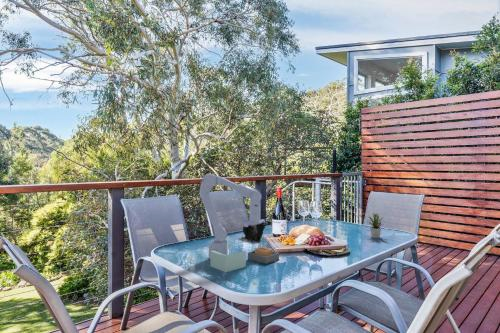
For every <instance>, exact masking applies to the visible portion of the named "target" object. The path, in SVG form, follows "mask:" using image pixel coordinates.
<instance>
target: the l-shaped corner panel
mask: <svg viewBox="0 0 500 333" xmlns="http://www.w3.org/2000/svg"><path fill="white" fill-rule="evenodd" d="M246 253H247V252H246V250H243V251H239V252H238V251H237V252H235V253H231V254H227V255H224V254H221V253H218V252H215V251H210V259H209V260H210V262H209V263H210V266H209V267H212V268H214V269H216V270H219V271H221V272H225V273H228V272H232V271H235V270H239V269H243V268H246V265H247V263H246V259H247V258H246V257H247V256H246V255H247V254H246Z"/></svg>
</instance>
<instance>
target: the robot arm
mask: <svg viewBox="0 0 500 333" xmlns="http://www.w3.org/2000/svg"><path fill="white" fill-rule="evenodd" d="M200 183H201V184H200V187H199V197H200V199H201V201H202V203H203V206H204V208H205V211H206V214H207V216H208V218H209V221H210V223H211V225H212V228H213V235H214V239H213V241H211V242H210V243H209V245H208V257H207V259H209V260H210V251H215V252H218V253H221V254H224V255H228V239H227V238H228V233H227V231H226V229H225V227H224V226H223V225H222V223H221V221H220V217H219V215H218V213H217V210H216V208H215V205H214V203H213V200H212V199H211V196H210V192H211V190H212V188H213V187H214V186H224V187H227V188H230V189H232V190H234V191H236V194H237V195H240V196H241V197H243V198H246V199H249V220H248V221H246V222H243V223H244V224H243V227H244V229H245V231H246V233H247V236H248V239H247V240H249V241H252V234H253V230H254V227H252V225H256V227H257V236H258V237H260V238H261V237H263V235H262V233H263V234H264V230H265V228H266V225H267V224H266V219H262V218H261V211H262V210H261V208H262V207H261V200H262V198H263V197H262V196H263V195H262V193H261V192H260V191H258V190H257V189H256V188H254V187H250V186H248V185H247V183H240V184H237V183H235V182H233V181H231V180H229V179H226V178H225V177H222V176H220V175H215V174H213V173H206V174H205V175H204V176H203V178H202V179H201V182H200ZM261 239H262V238H261Z"/></svg>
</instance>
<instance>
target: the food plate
mask: <svg viewBox="0 0 500 333" xmlns="http://www.w3.org/2000/svg"><path fill="white" fill-rule="evenodd" d="M310 246H311V245H310ZM307 251H309V252H311V253H313V255H314V254H315V255H320V256H321V255H322V256H338V255H343V254H347V253H349V252H351V249H350V247H348V246H346V247H345V248H342V249H340V250H331V251H329V250H323V251H322V250H320V249H317V250H315V252H313V251H310V250H307ZM322 253H323V254H322ZM325 253H326V254H325ZM327 253H328V254H327Z"/></svg>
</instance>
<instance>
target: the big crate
mask: <svg viewBox="0 0 500 333" xmlns="http://www.w3.org/2000/svg"><path fill="white" fill-rule="evenodd" d="M247 260H248V261H251V262H255V263H260V264H264V265H269V264H271V263H273V262H277V261H279V260H280V252H276V251H272V255H270V256H267V257H265V256H261V255H257V254H255V250H252V251H250V252H247Z"/></svg>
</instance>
